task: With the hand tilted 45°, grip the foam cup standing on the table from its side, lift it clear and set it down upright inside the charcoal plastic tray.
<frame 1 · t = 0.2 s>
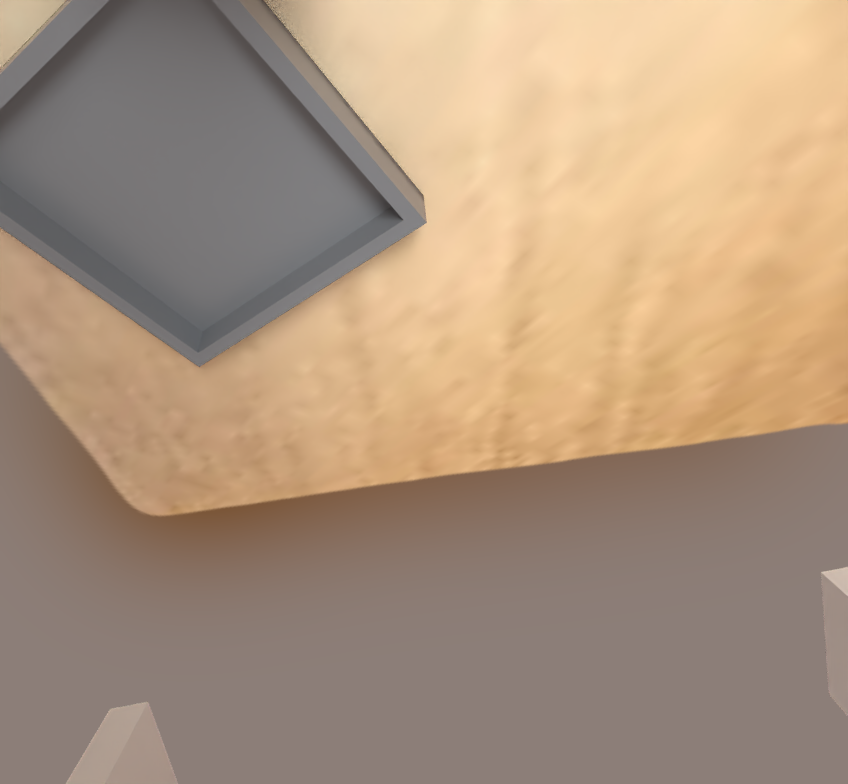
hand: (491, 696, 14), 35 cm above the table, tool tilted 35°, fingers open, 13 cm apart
tray: (192, 168, 42), on the table
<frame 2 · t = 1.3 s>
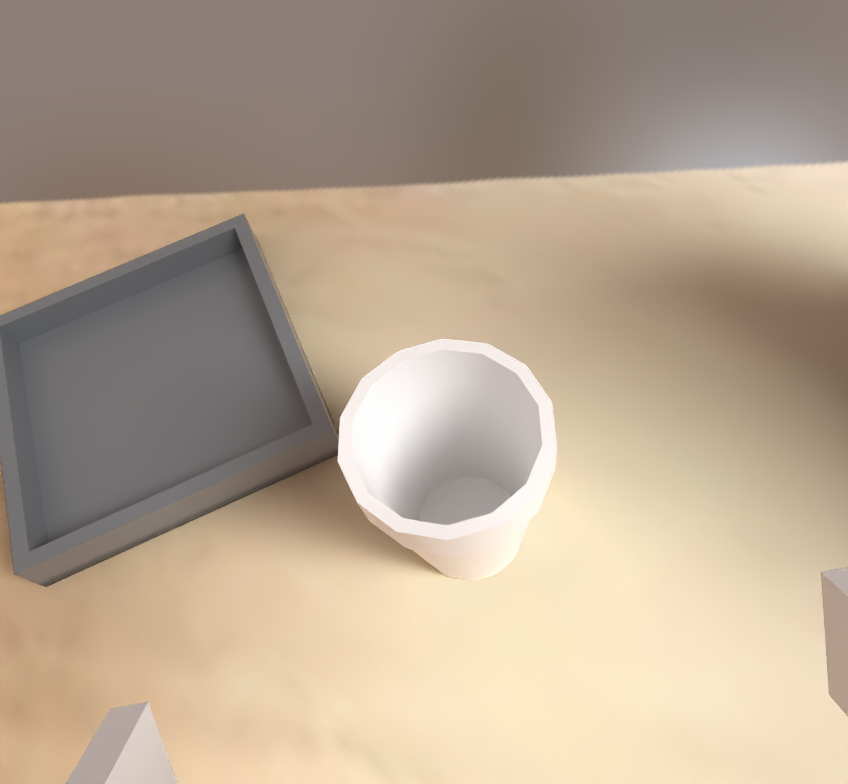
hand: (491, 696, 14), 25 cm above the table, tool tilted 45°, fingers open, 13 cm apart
foam cup: (469, 527, 41), on the table
tray: (164, 393, 49), on the table
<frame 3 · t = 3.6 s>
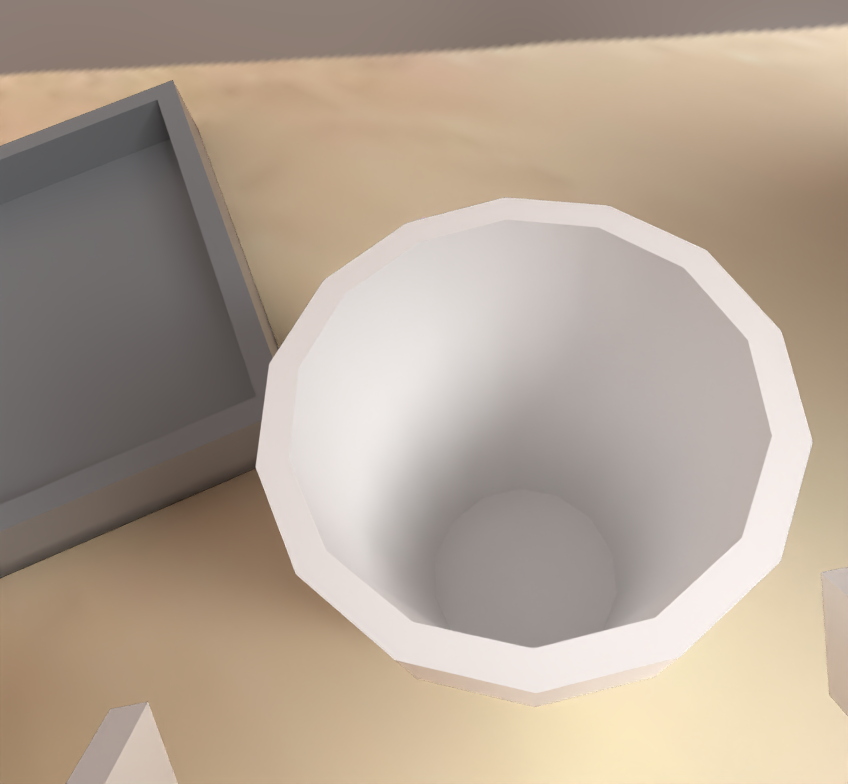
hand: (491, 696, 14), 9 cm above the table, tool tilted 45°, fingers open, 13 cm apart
foam cup: (523, 581, 24), on the table
tray: (36, 347, 31), on the table
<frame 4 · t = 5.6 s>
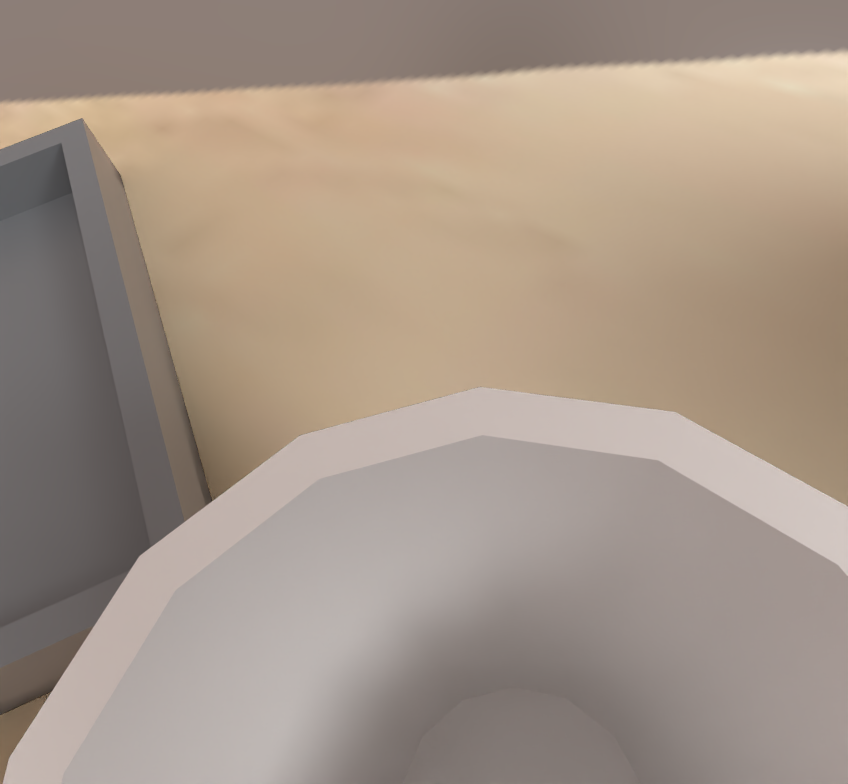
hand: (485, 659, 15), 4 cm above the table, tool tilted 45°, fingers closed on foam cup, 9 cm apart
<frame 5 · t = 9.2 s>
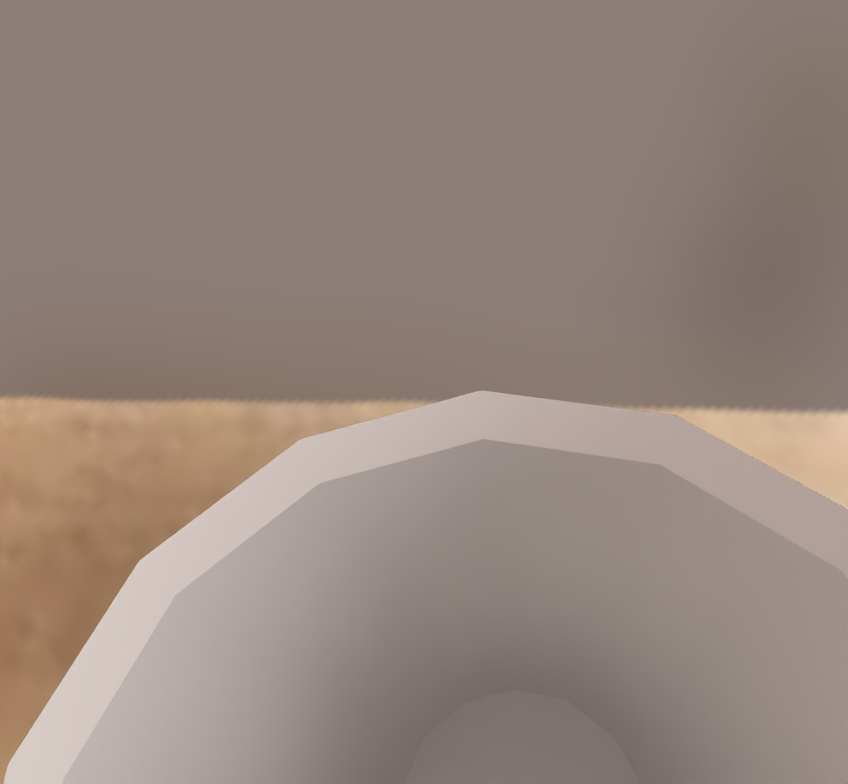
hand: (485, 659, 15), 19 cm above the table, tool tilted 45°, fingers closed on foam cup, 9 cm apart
when the fingers open (7 cm above the table, at t = 12.6 s): foam cup drops 1 cm, resting on tray.
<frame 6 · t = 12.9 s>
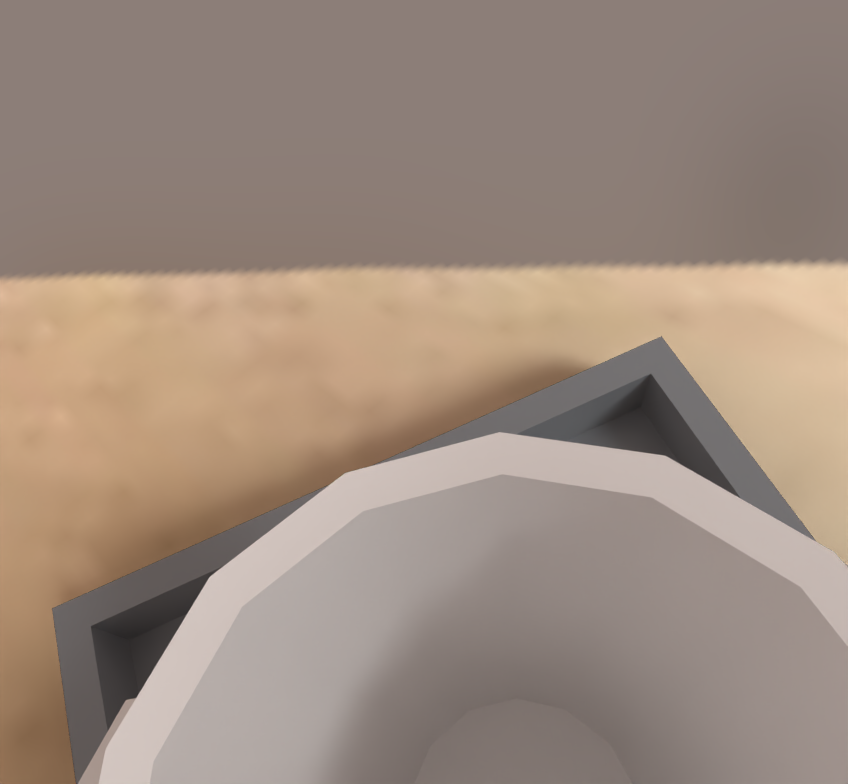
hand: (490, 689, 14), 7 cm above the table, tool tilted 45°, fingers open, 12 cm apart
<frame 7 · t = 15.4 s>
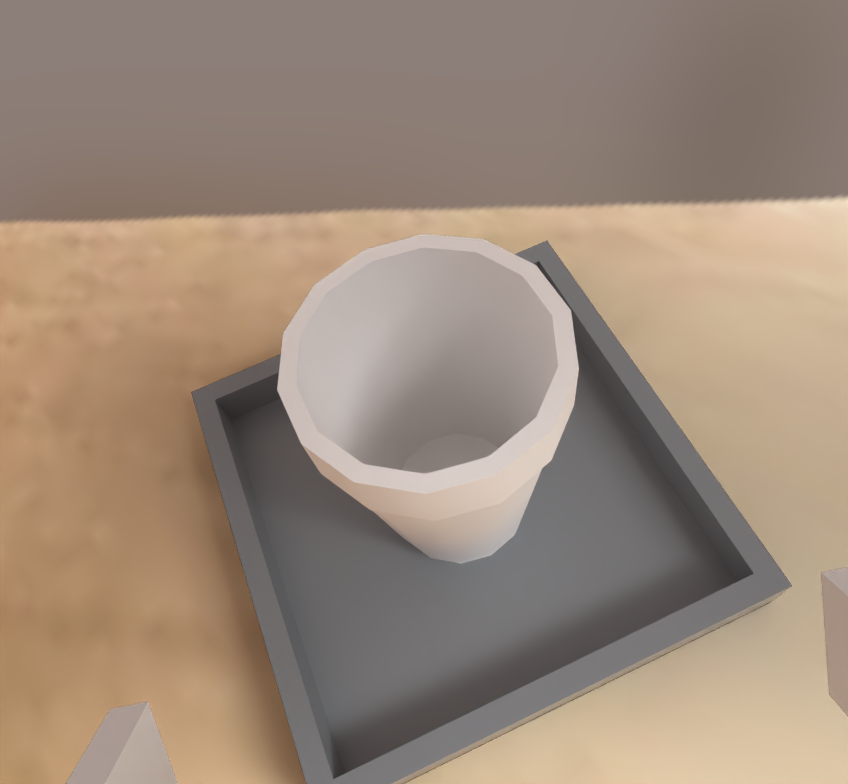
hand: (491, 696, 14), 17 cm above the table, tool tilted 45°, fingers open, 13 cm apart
foam cup: (459, 498, 33), point 1 cm above the table, touching tray
tray: (458, 500, 34), on the table
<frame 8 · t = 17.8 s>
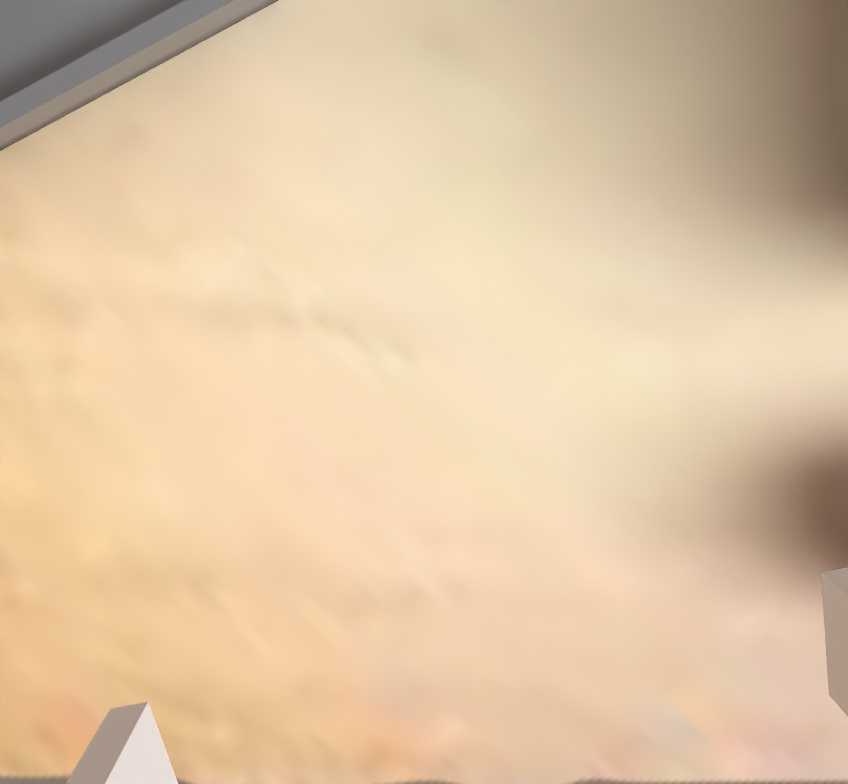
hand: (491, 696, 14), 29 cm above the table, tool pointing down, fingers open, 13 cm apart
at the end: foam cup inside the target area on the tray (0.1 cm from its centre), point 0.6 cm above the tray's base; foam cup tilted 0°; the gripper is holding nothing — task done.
